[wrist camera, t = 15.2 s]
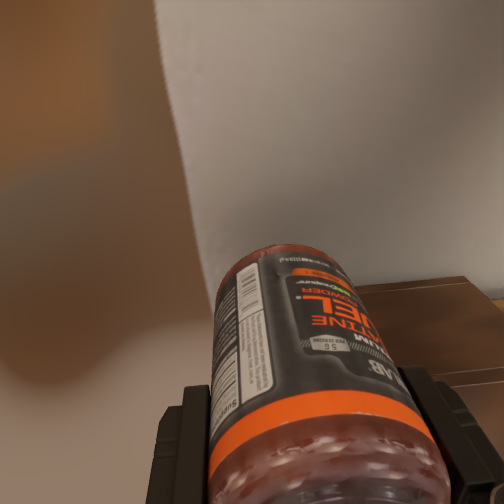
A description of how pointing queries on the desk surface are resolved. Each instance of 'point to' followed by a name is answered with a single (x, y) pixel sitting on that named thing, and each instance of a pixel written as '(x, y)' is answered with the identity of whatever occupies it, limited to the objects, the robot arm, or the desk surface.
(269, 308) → the supplement bottle
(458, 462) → the robot arm
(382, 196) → the desk surface
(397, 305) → the cabinet
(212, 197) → the desk surface
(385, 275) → the desk surface
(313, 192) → the desk surface
